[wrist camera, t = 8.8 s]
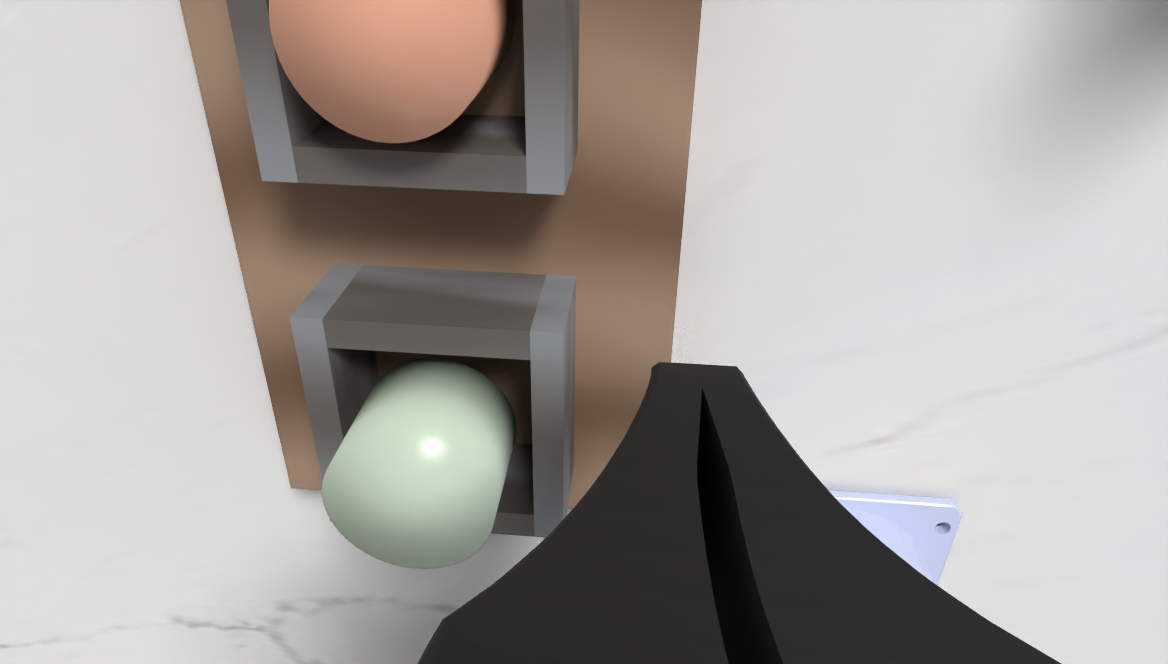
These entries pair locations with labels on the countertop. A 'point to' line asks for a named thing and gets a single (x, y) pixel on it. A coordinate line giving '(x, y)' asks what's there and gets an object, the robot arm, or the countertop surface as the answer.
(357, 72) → the terracotta plunger
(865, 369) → the countertop surface
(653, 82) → the button panel
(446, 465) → the sage spring button
